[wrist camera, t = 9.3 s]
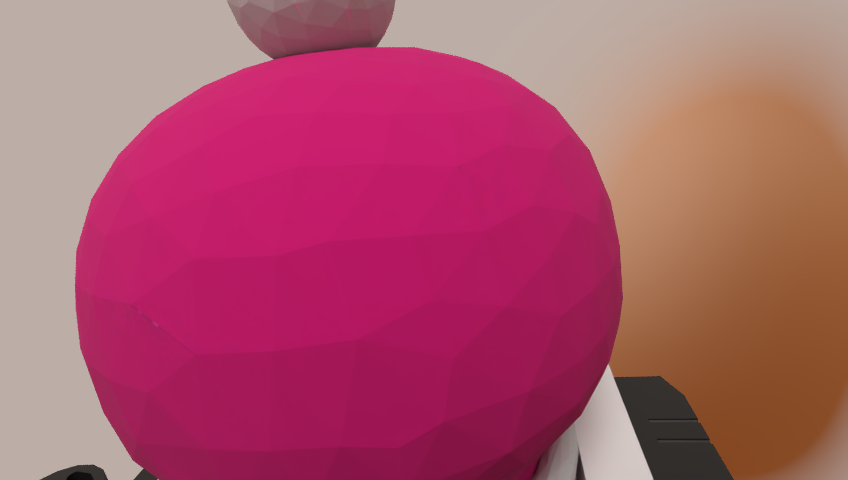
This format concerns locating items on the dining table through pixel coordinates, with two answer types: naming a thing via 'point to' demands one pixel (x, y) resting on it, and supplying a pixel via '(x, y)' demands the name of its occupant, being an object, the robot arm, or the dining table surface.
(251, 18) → the pepper mill
